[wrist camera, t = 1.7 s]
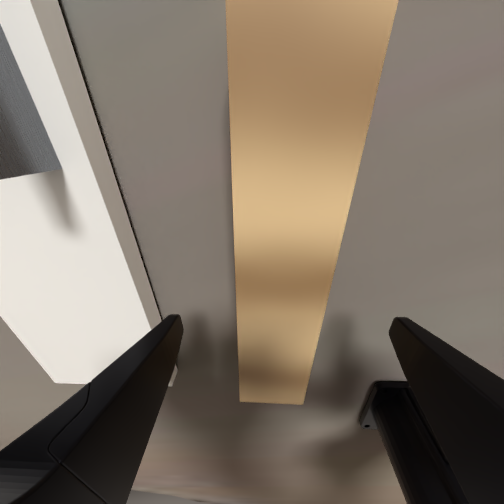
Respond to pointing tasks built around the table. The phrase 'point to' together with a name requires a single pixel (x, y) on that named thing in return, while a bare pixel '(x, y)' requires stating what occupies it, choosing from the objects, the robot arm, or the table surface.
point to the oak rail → (294, 170)
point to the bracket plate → (61, 209)
